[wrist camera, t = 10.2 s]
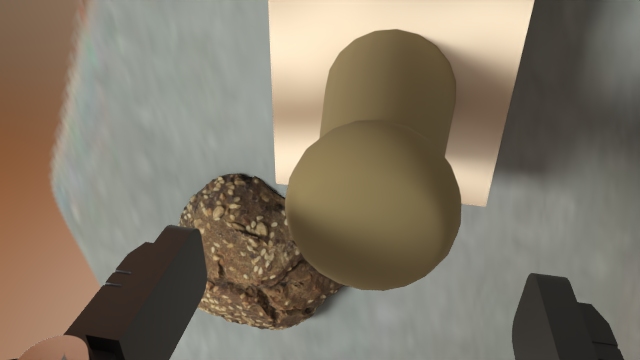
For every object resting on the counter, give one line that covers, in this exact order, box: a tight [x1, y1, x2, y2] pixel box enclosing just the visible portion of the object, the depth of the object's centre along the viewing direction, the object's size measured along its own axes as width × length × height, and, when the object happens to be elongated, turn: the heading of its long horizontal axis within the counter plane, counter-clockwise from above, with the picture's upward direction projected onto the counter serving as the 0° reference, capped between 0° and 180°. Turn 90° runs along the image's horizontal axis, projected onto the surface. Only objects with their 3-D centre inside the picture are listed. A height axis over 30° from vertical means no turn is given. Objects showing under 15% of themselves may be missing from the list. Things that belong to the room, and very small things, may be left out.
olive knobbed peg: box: [285, 29, 461, 291], centre depth 17 cm, size 6×6×11 cm
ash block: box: [268, 0, 534, 206], centre depth 24 cm, size 11×11×5 cm
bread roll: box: [178, 174, 343, 330], centre depth 34 cm, size 13×12×5 cm
